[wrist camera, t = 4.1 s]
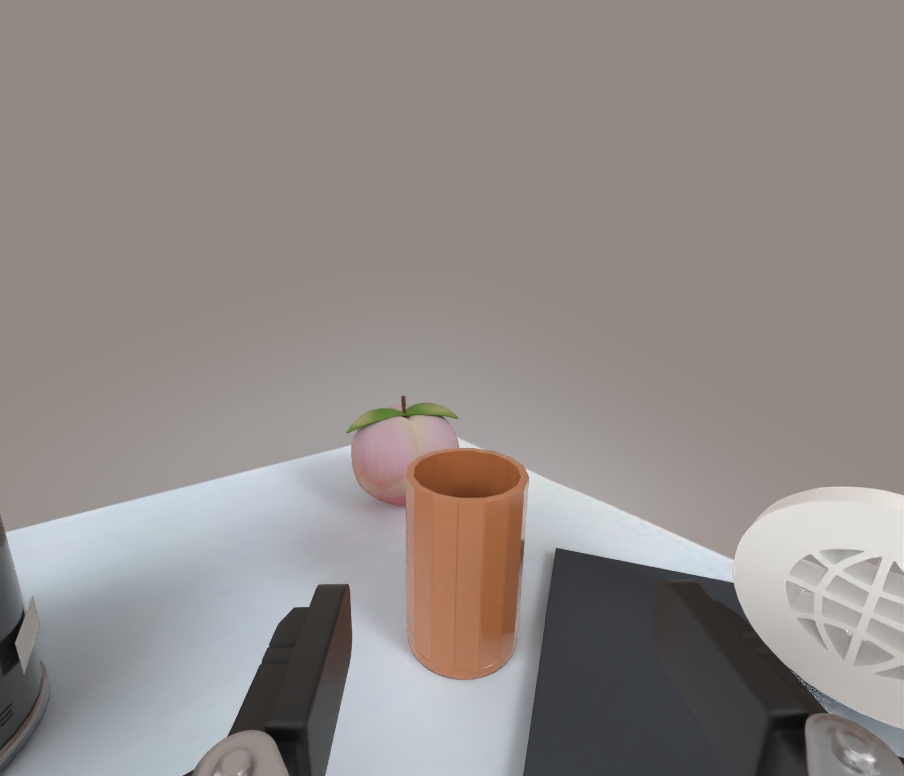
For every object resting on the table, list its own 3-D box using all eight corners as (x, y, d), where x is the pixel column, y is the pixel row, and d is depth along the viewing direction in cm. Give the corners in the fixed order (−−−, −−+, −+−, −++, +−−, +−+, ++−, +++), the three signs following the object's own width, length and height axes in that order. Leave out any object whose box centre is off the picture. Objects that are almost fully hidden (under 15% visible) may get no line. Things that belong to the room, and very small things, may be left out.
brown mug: (526, 679, 22) (540, 501, 20) (404, 681, 22) (402, 502, 19) (500, 562, 31) (507, 430, 28) (412, 563, 31) (412, 430, 28)
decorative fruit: (429, 474, 44) (430, 378, 42) (472, 512, 37) (476, 400, 35) (337, 495, 40) (332, 389, 37) (367, 542, 33) (362, 417, 30)
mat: (512, 856, 15) (513, 845, 15) (555, 554, 32) (556, 547, 32) (949, 1035, 12) (957, 1022, 12) (742, 592, 28) (744, 584, 28)
